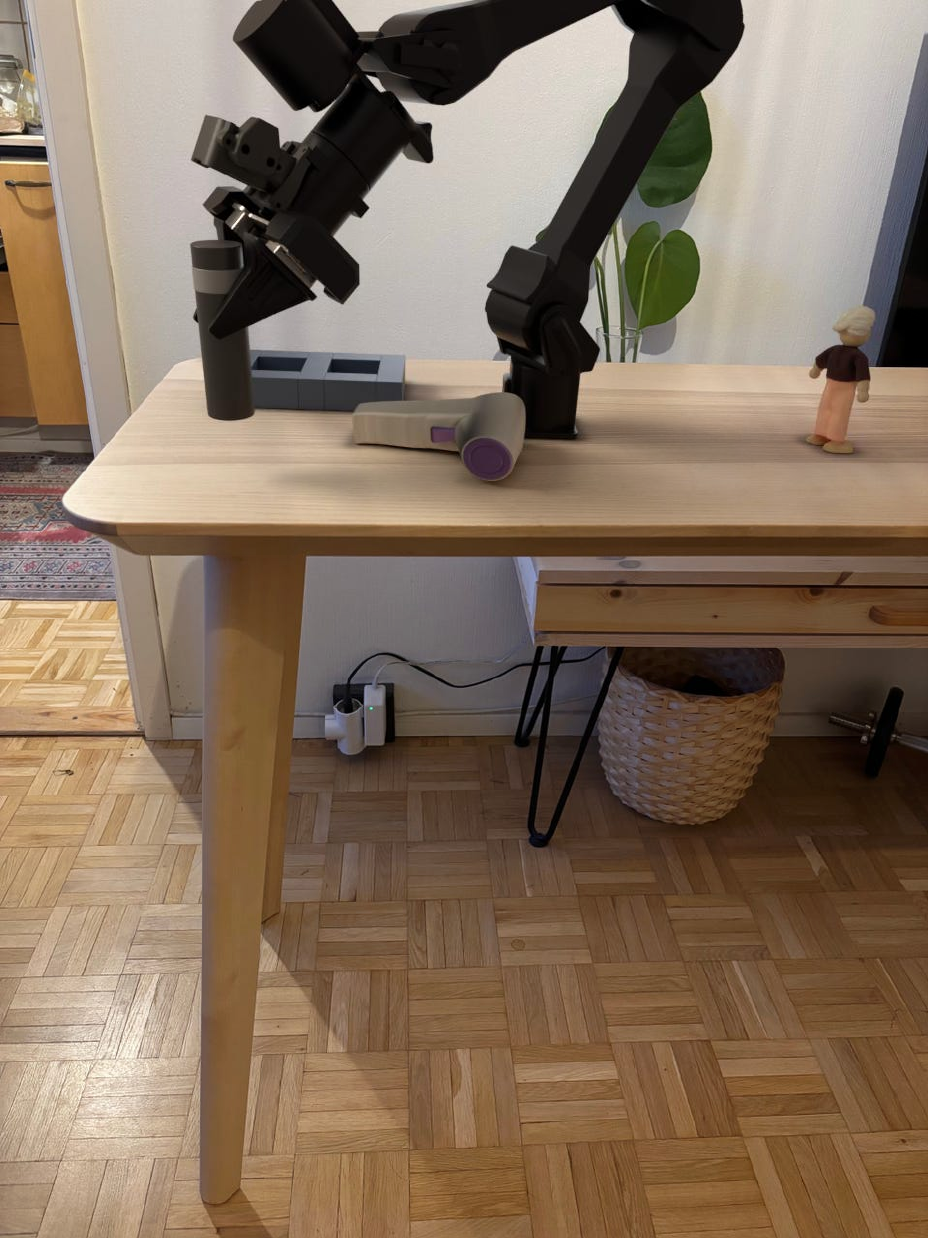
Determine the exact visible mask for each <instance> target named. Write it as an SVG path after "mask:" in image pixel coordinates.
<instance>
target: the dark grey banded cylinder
mask: <svg viewBox="0 0 928 1238" xmlns="http://www.w3.org/2000/svg"><path fill="white" fill-rule="evenodd" d="M189 247H190V257H191V273H192V284H193V289H194V296H195V305H196V308H197V316H198V323H197V324H198V325H197V326H198V333H199V342H200V344H199V345H200V351H201V353H200V354H201V362H202V372H203V374H202V375H203V383H204V392H205V393H204V394H205V401H206V411H207V416H208V417H209V418H211V419H213V420H215V421H222V422H223V421H224V422H235V421H236V422H237V421H242V420H247V419H251V417H253V416H255V413H256V410H255V408H254V396H253V383H252V369H251V356H250V350H251V345H250V332H249V327H246V328H244V329H242V330H240V331H238V332H236V333H234V334H232V335H229V336H227V337H225V338H223V339H221V340H218V339H216V338H215V337H214V336H213V335H212V334H210V333H209V332H208V327H209V325H210V323H211V321H212V319H213V317H214V316H215V314H216V312H217V310H218V308H219V307H220V305H221V304H222V302H223V300H224V299H225V297H226V295H227V294H228V292H229V290H230V289H231V287H232V285H233V284H234V282H235V280H236V279H237V277H238V275H239V274H240V272H241V270H242V269H243V267H244V265H243V252H242V244H241V243H239V242H236V241H229V240H218V239H202V240H196V241H192V242H190V244H189Z"/></svg>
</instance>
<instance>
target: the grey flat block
mask: <svg viewBox="0 0 928 1238" xmlns="http://www.w3.org/2000/svg"><path fill="white" fill-rule="evenodd" d="M250 356H251V369H252V383H253V396H254V409H255V408H256V409H257V408H258V409H284V410H285V409H287V410H309V411H310V410H311V411H312V410H317V411H341V412H342V411H343V412H354V410H355V409H356V407H357V406H358V404H361V403H369V402H383V401H404V398H405V389H406V355H405V354H384V353H360V352H359V353H357V352H330V351H329V352H328V351H327V352H326V351H300V350H298V351H297V350H273V349H271V350H269V349H250Z"/></svg>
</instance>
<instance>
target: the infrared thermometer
mask: <svg viewBox="0 0 928 1238" xmlns="http://www.w3.org/2000/svg"><path fill="white" fill-rule="evenodd" d="M351 417H352V428H353V429H352V431H353V440H354V444H374V445H375V444H376V445H385V446H386V445H388V446H396V447H405V448H413V449H435V450H445V451H452V452H458V454H459V456H460V459H461V462H462V464H463V466H464V468H465V469H466V470H467V471H468V472H469V473H470V474H471V475H472V476H474V477H476V478H478V479H480V480H484V481H489V482H493V481H494V482H495V481H501V480H503V479H505V478H507V477H508V476H509V475H510V474H511V473H512V471H513V469H514V467H515V465H516V462H517V460H518V458H519V456H520V454H521V453H522V450H523V446H524V440H525V436H524V433H525V420H526V417H525V406H524V403H523V401H522V399H521V398H520V397H518V396H517V395H514V394H511V393H505V392H502V391H501V392H499V391H498V392H497V391H496V392H490V393H489V392H488V393H484V394H480V395H477V396H475V397H470V398H469V397H468V398H467V397H465V398H449V399H448V398H447V399H428V400H403V401H383V402H369V403H361V404H358V406H357V407H356V409H355V410H354V411H352V416H351Z"/></svg>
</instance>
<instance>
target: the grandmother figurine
mask: <svg viewBox="0 0 928 1238" xmlns="http://www.w3.org/2000/svg"><path fill="white" fill-rule="evenodd" d="M875 321H876V314H875V311H874V310H873V309H872V308H870V307H868V306H867V305H855V306H853V307H851V308H849V309H847V310H846V311H844V312H843V313H842V314H840V316H839V317H838V318H837V319H836V321H835V323H833V324H832V330H833V332H836V333H837V334H838V335H839V340H840V342H841V344H834V345H832V346H830V347H828V348H826V349H825V350H823V351H822V352H820V353H819V354H818V355H817V356H815V358H814V363H813V364H812V368H811V369H809V371H808V376H809V378H811V379H813V380H815V379H816V380H817V379H818V378H820V375H821V372H823V371H824V370H826V372H825V379H826V382H825V385H824V388H823V391H822V393H821V397H820V400H819V404H818V408H817V413H816V418H815V422H814V426H813V434H811V435H809V436H808V437H807V438H806V443H808V444H811V445H814V446H822V449H823V451H825V452H828V453H834V454H852V453H853V452H854V446H853V444H852V443H851V441H849V440H847V439H846V438H847V435H848V427H849V422H850V418H851V413H852V408H853V405H854V400H855V396H856V401H857V402H858V403H861V404H863V403H867V402H868V401H869V399H870V394H869V391H870V385H871V384H870V383H871V378H872V377H871V371H870V365H869V357H868V356H867V355H866V354H865V353H864V352H863V351H862V350H861V349H860V348H859V347H861V346H863V345H865V344H866V343H867V342H868V340H869V338H870V336H871V332H872V330H871V328H872V327H874V323H875ZM856 391H857V394H856Z"/></svg>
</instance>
